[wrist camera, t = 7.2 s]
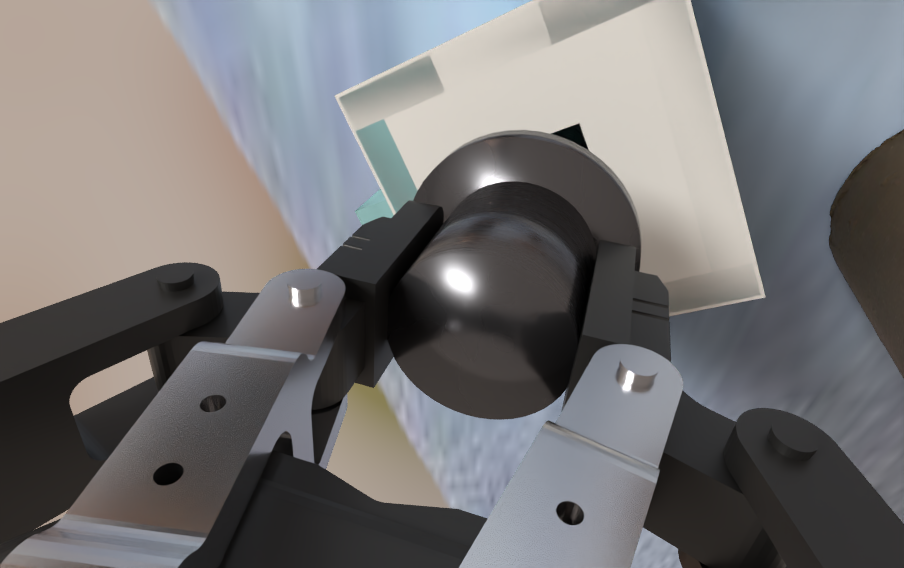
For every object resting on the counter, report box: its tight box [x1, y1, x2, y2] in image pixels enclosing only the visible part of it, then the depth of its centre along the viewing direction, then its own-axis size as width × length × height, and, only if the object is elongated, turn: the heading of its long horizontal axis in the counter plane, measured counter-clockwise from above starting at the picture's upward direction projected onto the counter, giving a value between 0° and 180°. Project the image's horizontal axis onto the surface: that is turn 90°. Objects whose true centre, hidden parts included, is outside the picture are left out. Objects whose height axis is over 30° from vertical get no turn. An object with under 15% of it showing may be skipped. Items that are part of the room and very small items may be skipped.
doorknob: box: [387, 123, 642, 419], centre depth 17 cm, size 6×6×18 cm
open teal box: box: [335, 0, 765, 316], centre depth 22 cm, size 9×11×14 cm
